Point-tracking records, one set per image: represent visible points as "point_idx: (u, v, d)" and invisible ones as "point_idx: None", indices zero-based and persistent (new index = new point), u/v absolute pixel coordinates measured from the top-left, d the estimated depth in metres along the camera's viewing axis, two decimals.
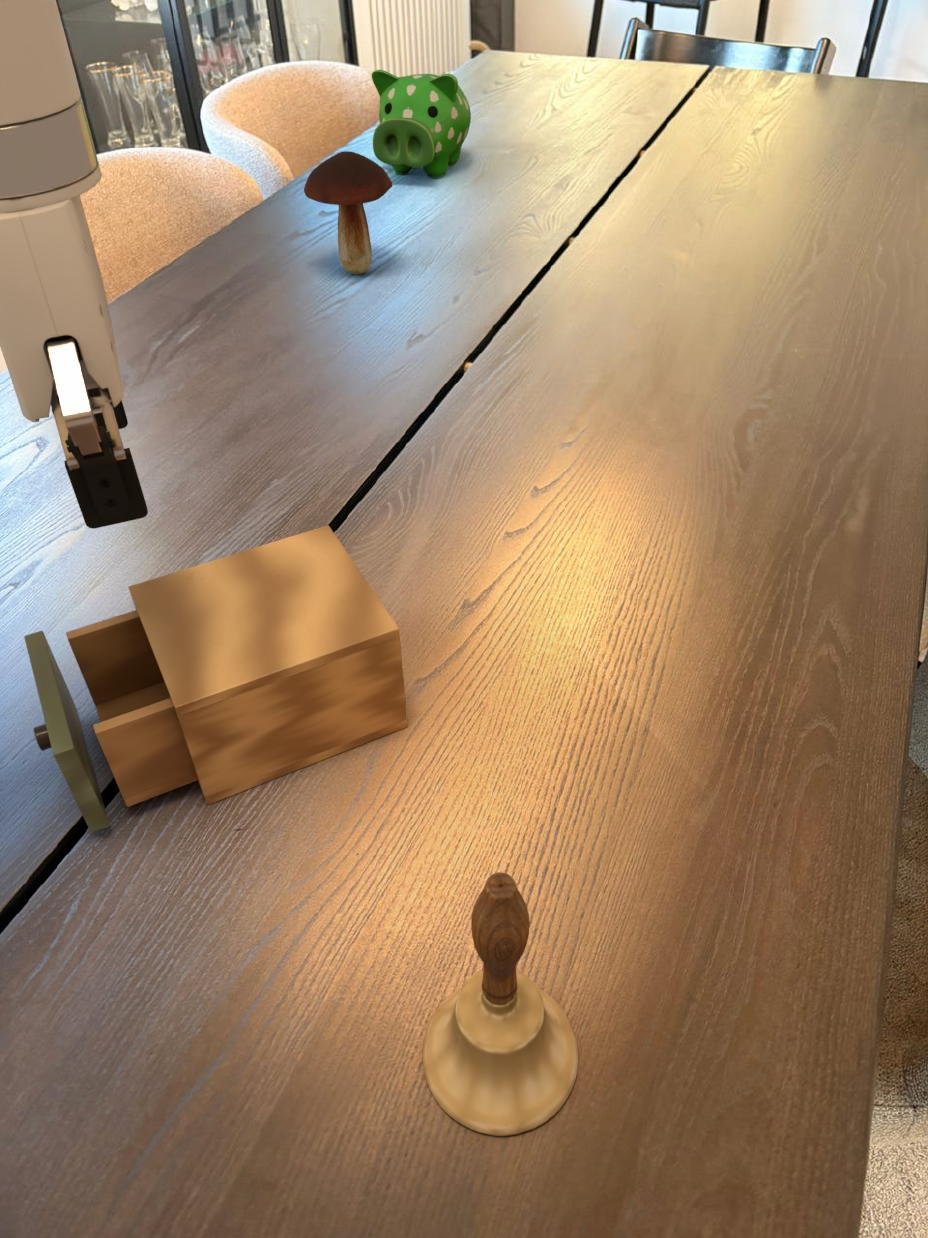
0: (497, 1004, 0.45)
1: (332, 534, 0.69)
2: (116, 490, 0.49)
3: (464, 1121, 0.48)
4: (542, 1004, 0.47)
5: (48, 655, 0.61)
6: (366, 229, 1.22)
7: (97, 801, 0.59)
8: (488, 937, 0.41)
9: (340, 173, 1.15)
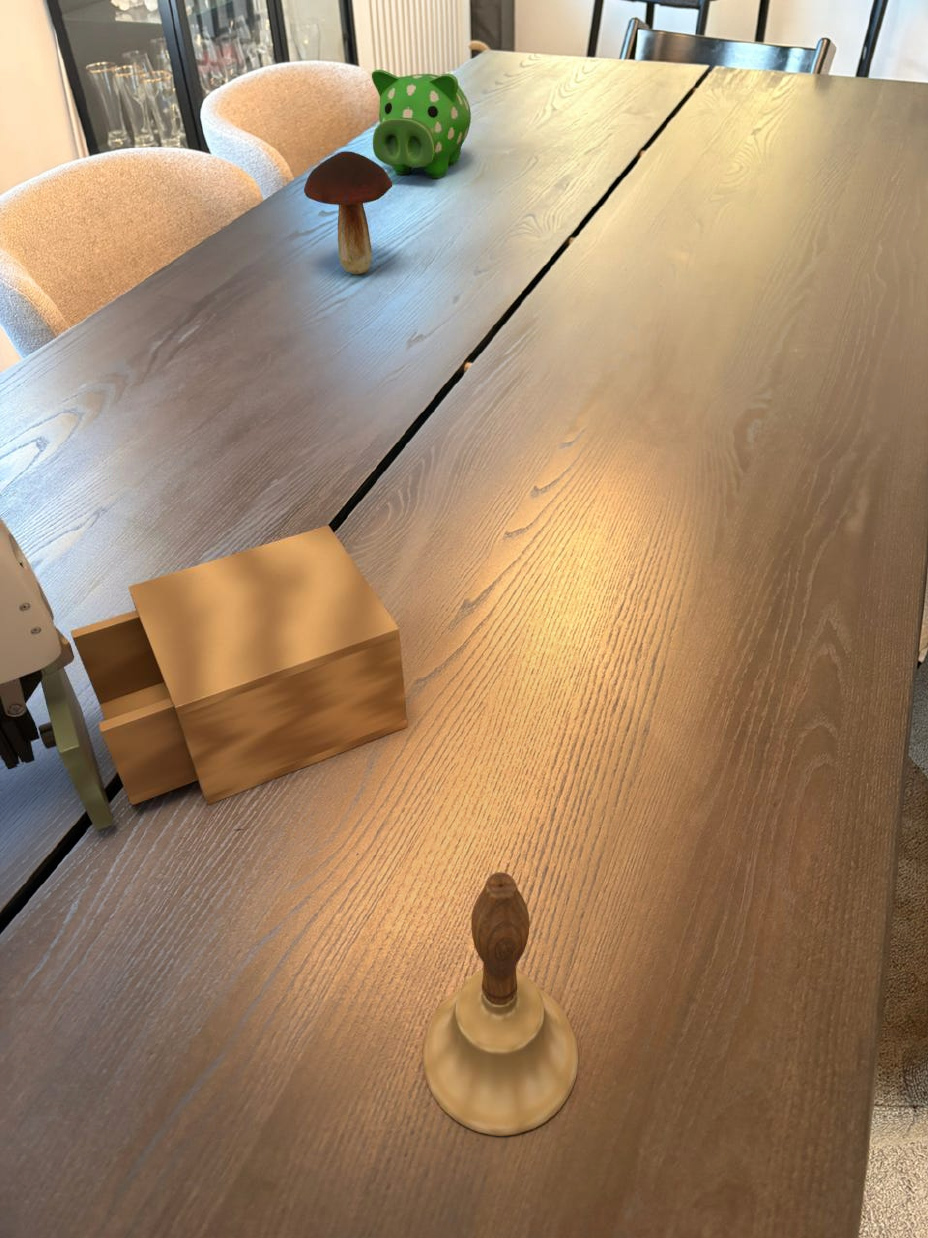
0: (497, 1004, 0.45)
1: (332, 534, 0.69)
2: None
3: (464, 1121, 0.48)
4: (542, 1004, 0.47)
5: None
6: (366, 229, 1.22)
7: (102, 799, 0.59)
8: (488, 937, 0.41)
9: (340, 172, 1.15)
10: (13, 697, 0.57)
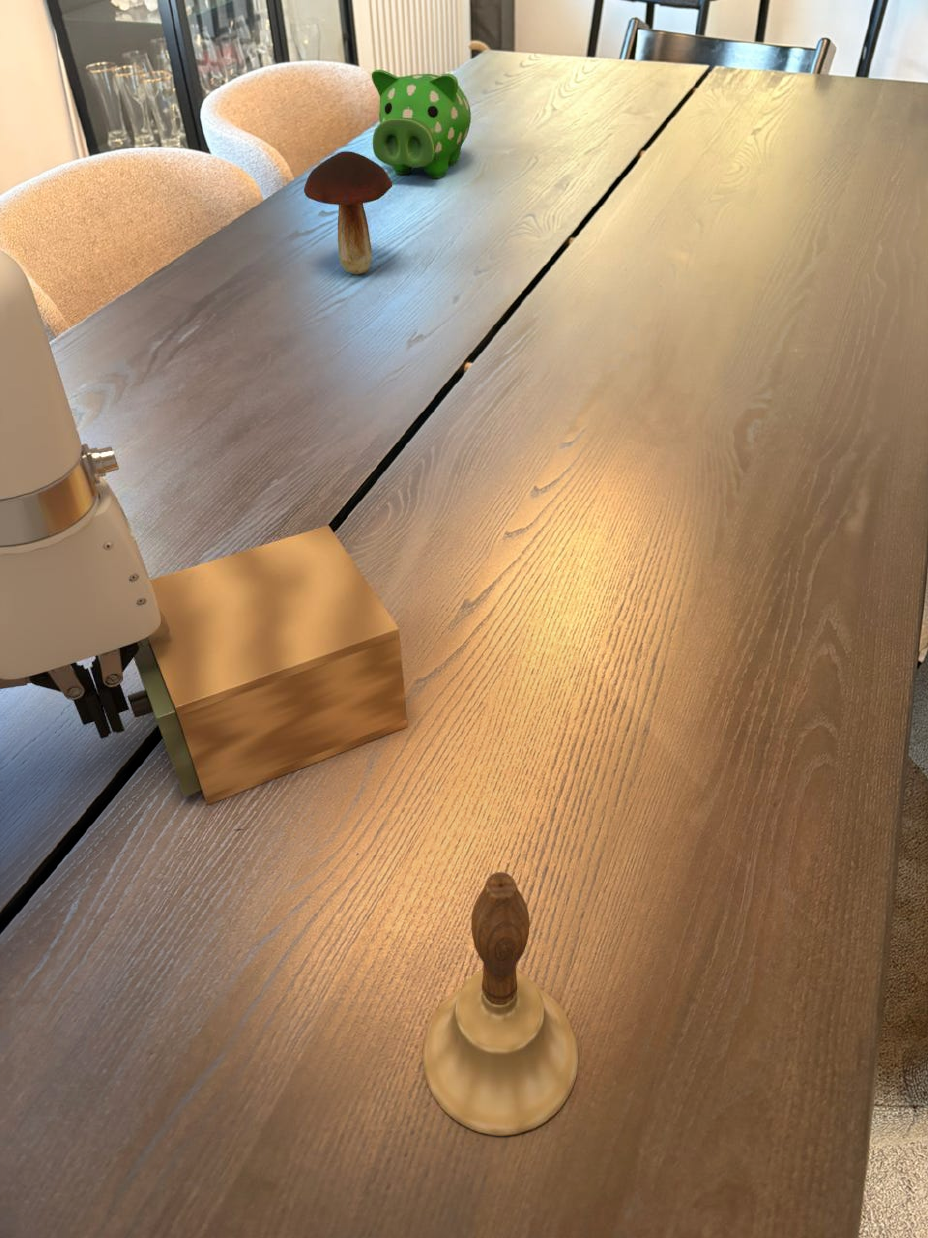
0: (497, 1004, 0.45)
1: (332, 534, 0.69)
2: None
3: (464, 1121, 0.48)
4: (542, 1004, 0.47)
5: None
6: (366, 229, 1.22)
7: (192, 765, 0.61)
8: (488, 937, 0.41)
9: (340, 173, 1.15)
10: (112, 667, 0.59)
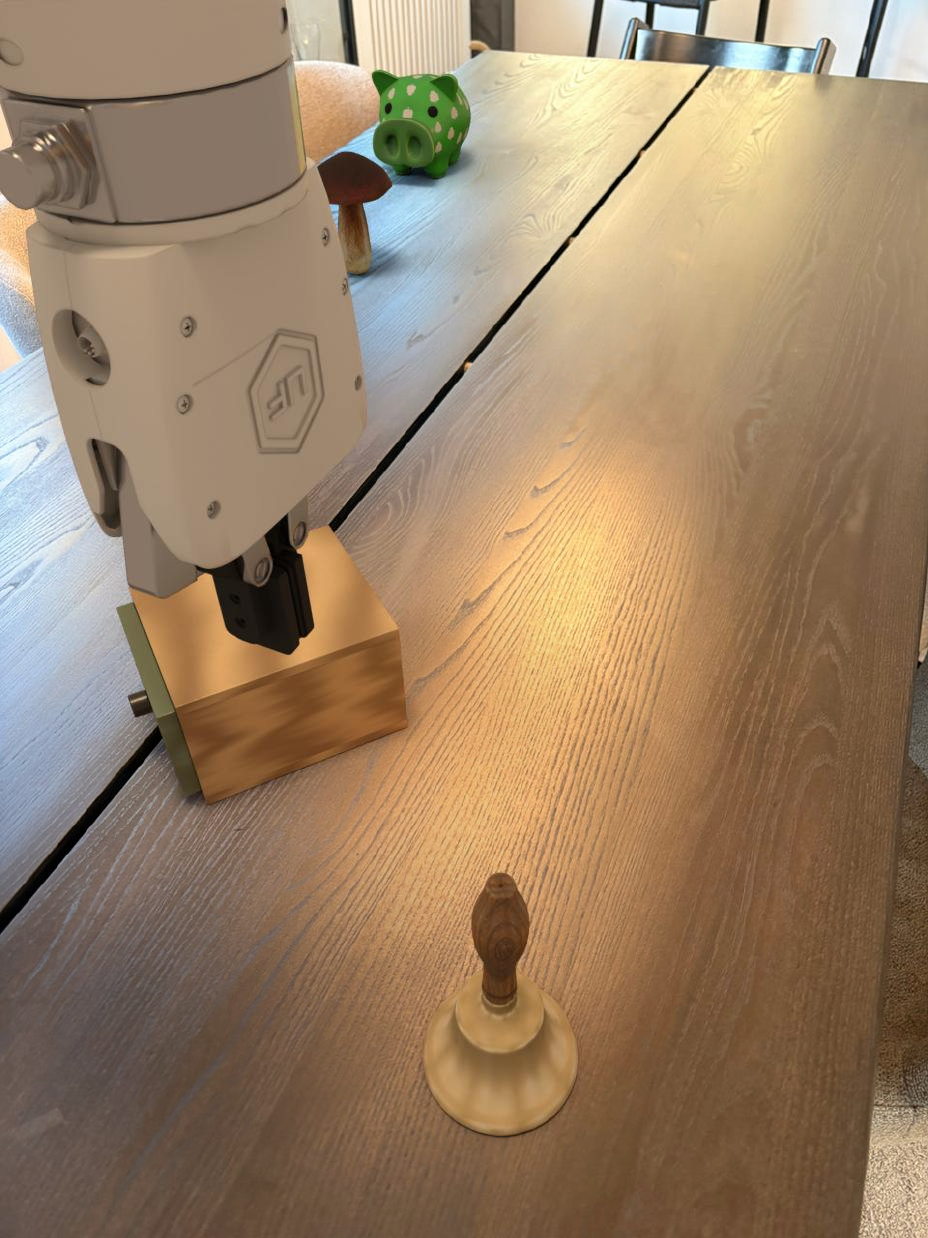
0: (497, 1004, 0.45)
1: (332, 534, 0.69)
2: None
3: (464, 1121, 0.48)
4: (542, 1004, 0.47)
5: (141, 625, 0.63)
6: (366, 229, 1.22)
7: (192, 765, 0.61)
8: (488, 937, 0.41)
9: (340, 173, 1.15)
10: None
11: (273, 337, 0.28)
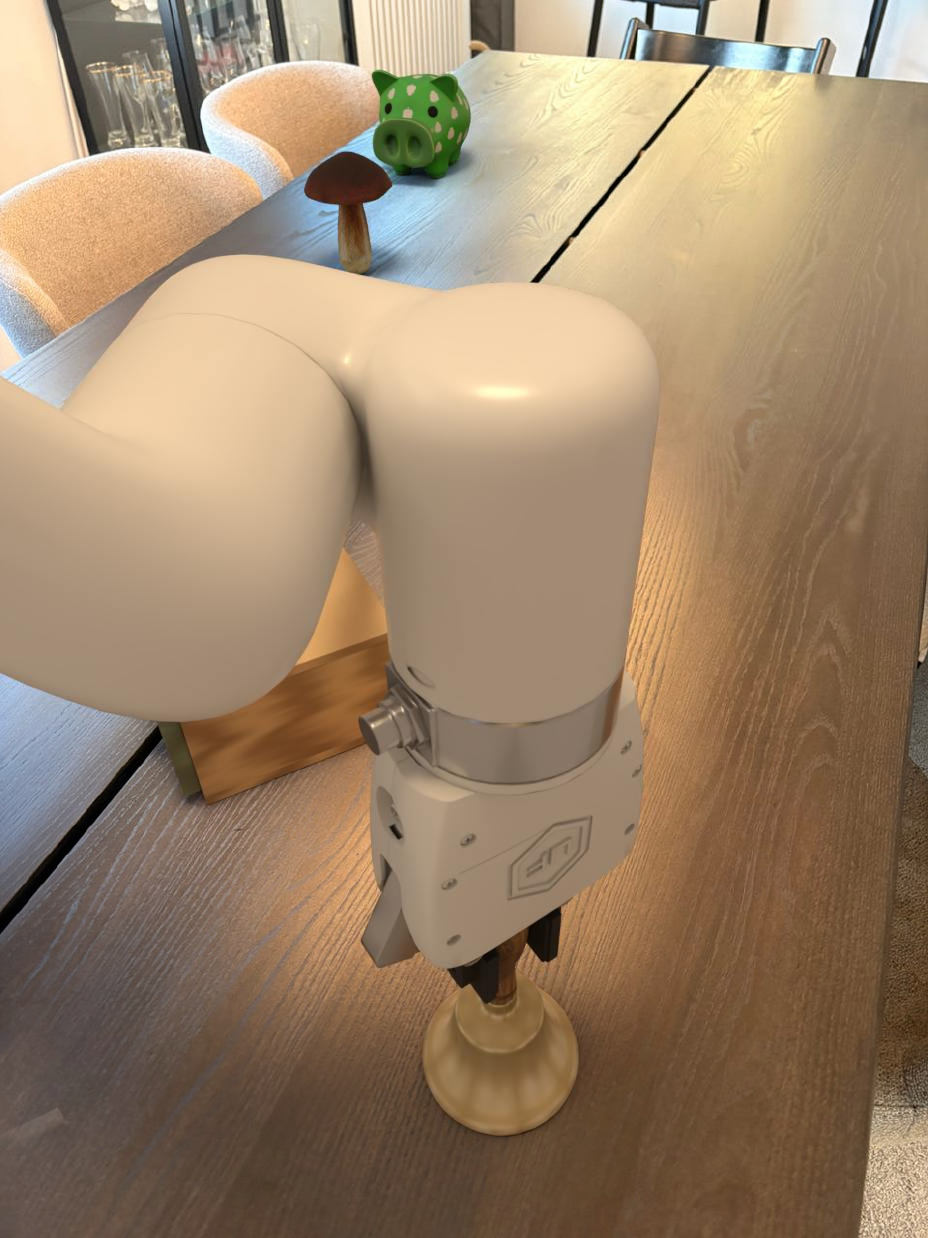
0: (497, 1004, 0.45)
1: None
2: None
3: (464, 1121, 0.48)
4: (542, 1004, 0.47)
5: None
6: (366, 229, 1.22)
7: (192, 765, 0.61)
8: None
9: (340, 173, 1.15)
10: None
11: (546, 829, 0.33)
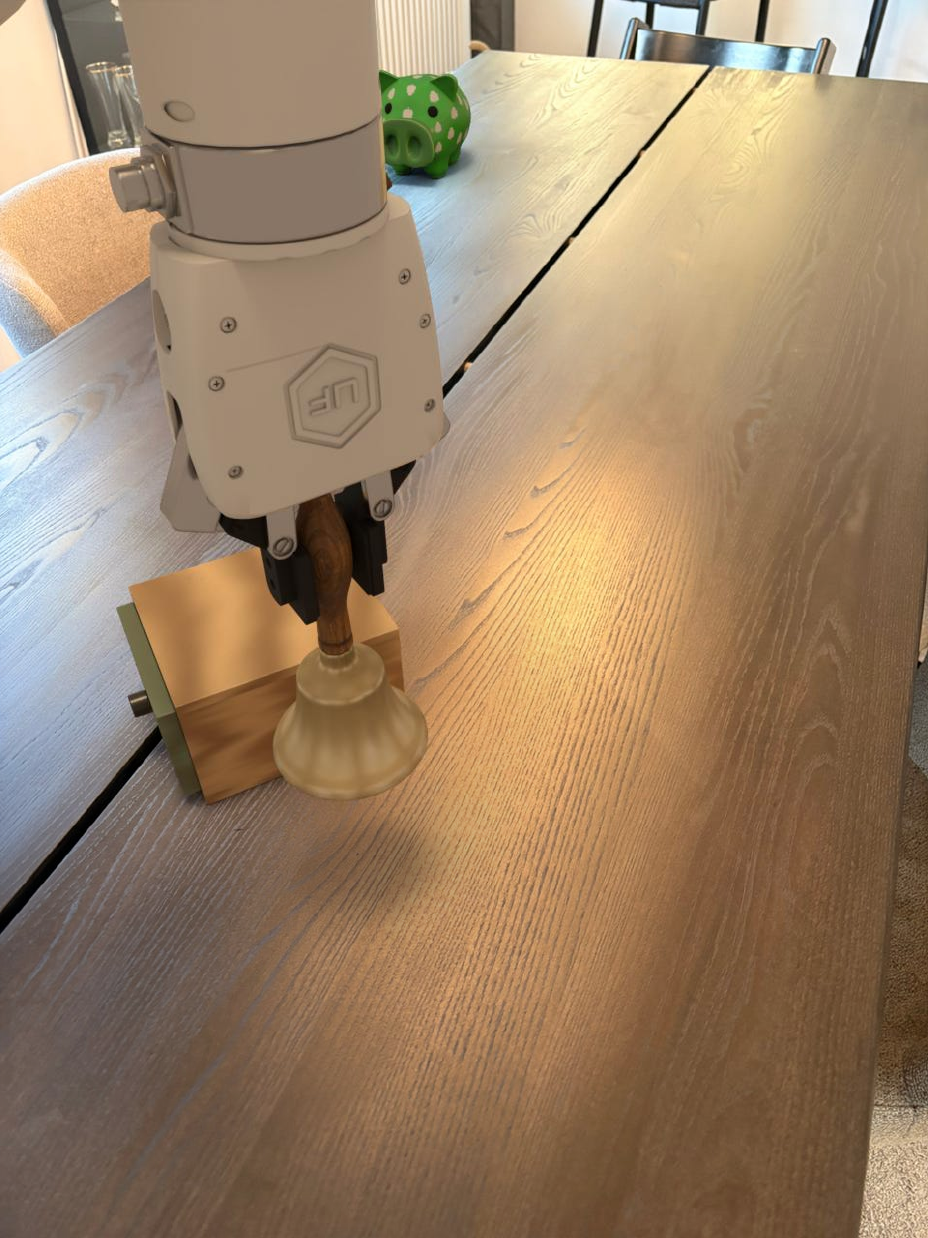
0: (332, 654, 0.46)
1: None
2: None
3: (306, 788, 0.48)
4: (382, 668, 0.48)
5: (141, 625, 0.63)
6: None
7: (192, 765, 0.61)
8: None
9: None
10: None
11: (322, 349, 0.33)
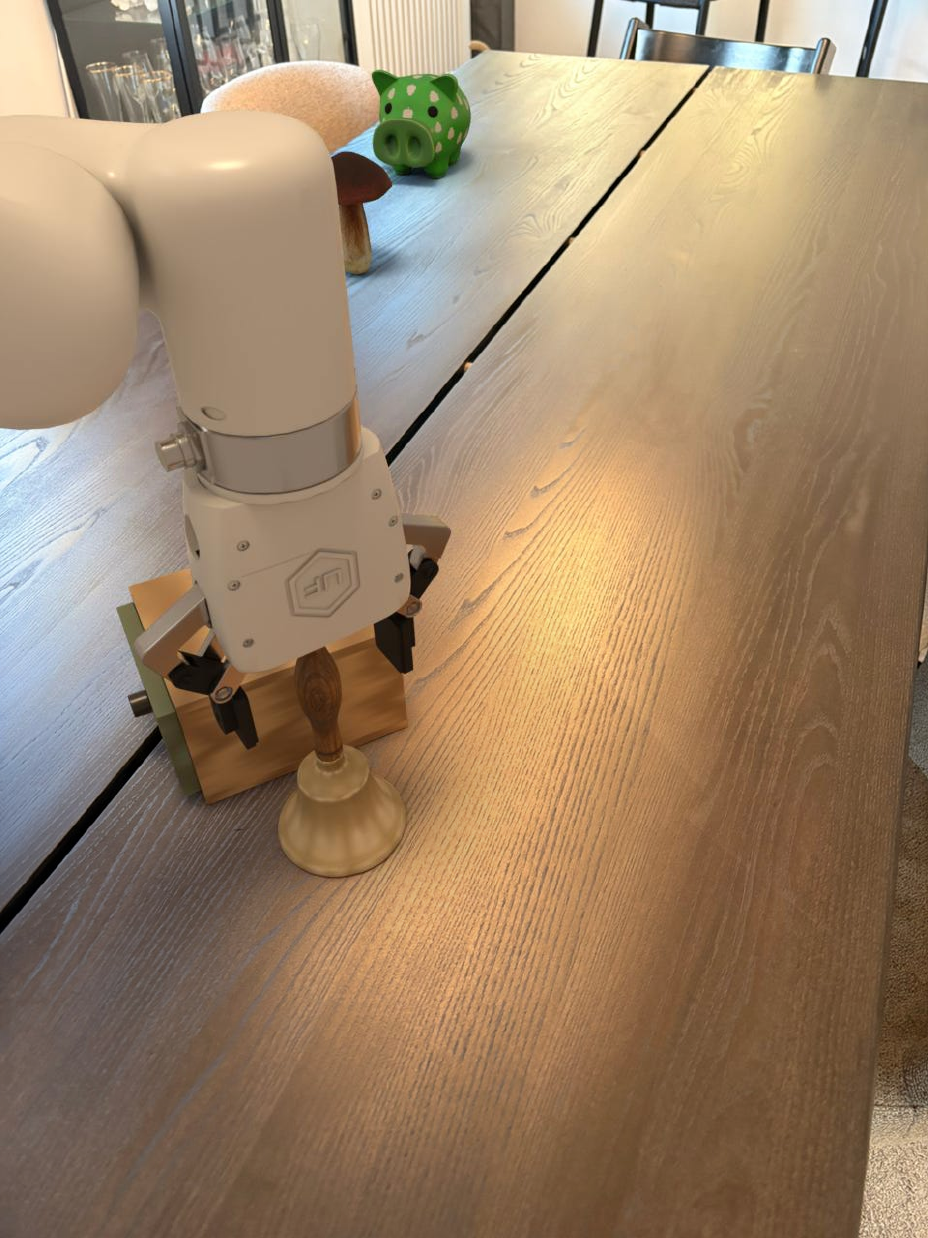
0: (326, 761, 0.57)
1: None
2: None
3: (305, 866, 0.59)
4: (367, 769, 0.58)
5: (141, 625, 0.63)
6: (366, 229, 1.22)
7: (192, 765, 0.61)
8: (303, 687, 0.52)
9: (340, 172, 1.15)
10: None
11: (313, 553, 0.44)
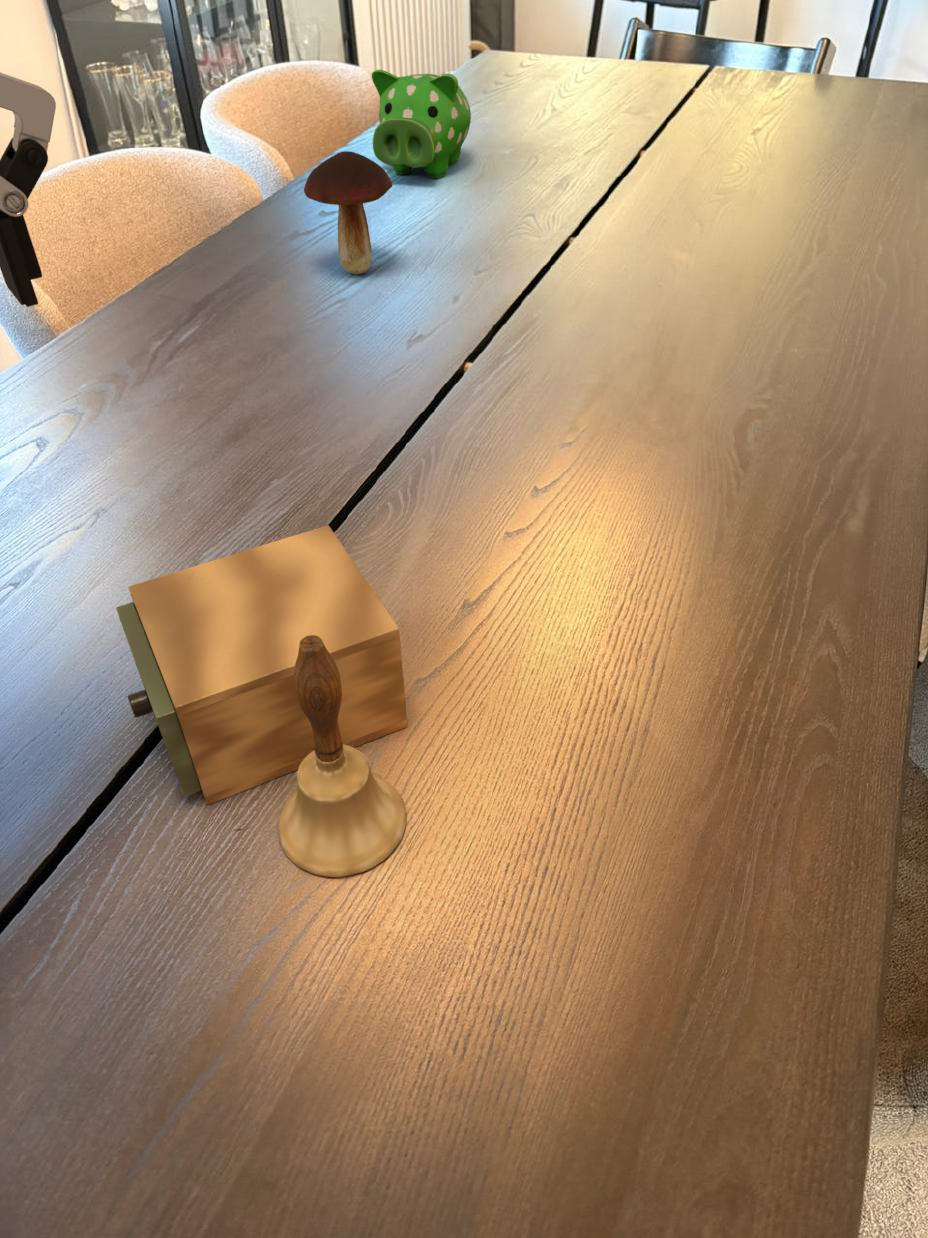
0: (325, 761, 0.57)
1: (332, 534, 0.69)
2: None
3: (305, 866, 0.59)
4: (367, 768, 0.58)
5: (141, 625, 0.63)
6: (366, 229, 1.22)
7: (192, 765, 0.61)
8: (303, 687, 0.52)
9: (340, 172, 1.15)
10: None
11: None
